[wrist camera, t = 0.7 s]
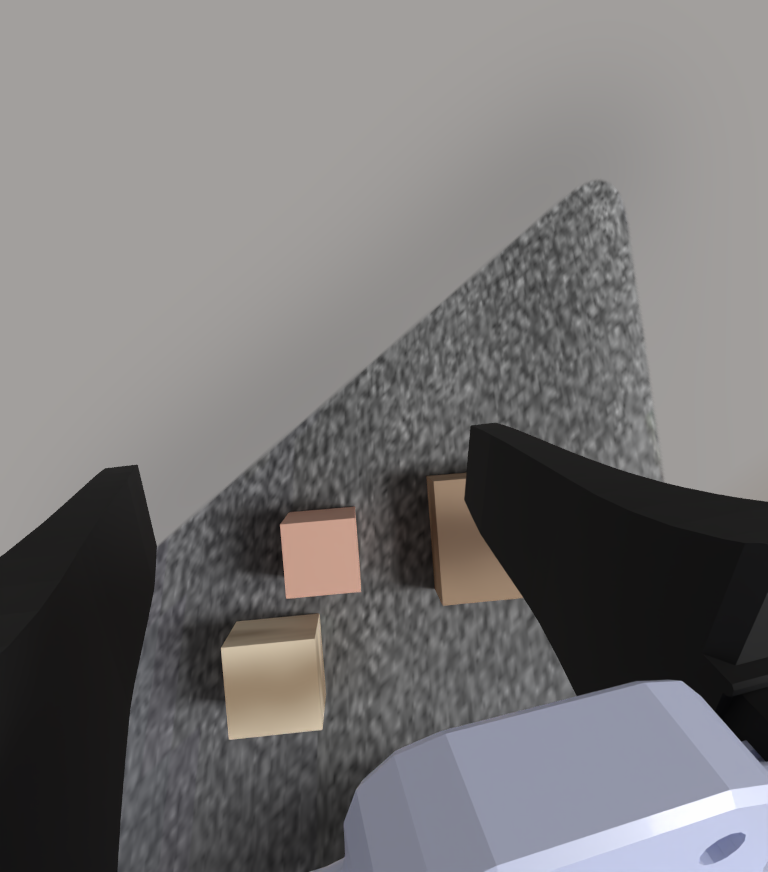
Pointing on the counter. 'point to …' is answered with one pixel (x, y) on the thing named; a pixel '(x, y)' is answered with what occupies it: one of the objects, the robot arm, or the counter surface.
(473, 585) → the walnut base
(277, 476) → the counter surface
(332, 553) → the terracotta block
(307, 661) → the maple block
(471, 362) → the counter surface
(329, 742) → the counter surface
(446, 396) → the counter surface
